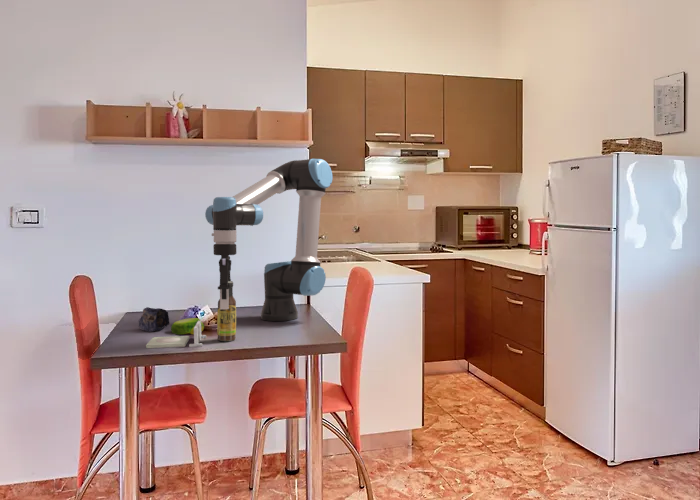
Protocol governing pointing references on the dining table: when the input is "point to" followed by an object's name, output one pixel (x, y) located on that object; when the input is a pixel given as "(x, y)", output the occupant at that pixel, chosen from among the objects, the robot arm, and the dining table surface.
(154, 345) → the pad
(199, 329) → the divider
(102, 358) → the dining table surface
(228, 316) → the sauce bottle
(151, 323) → the rock
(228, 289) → the robot arm
